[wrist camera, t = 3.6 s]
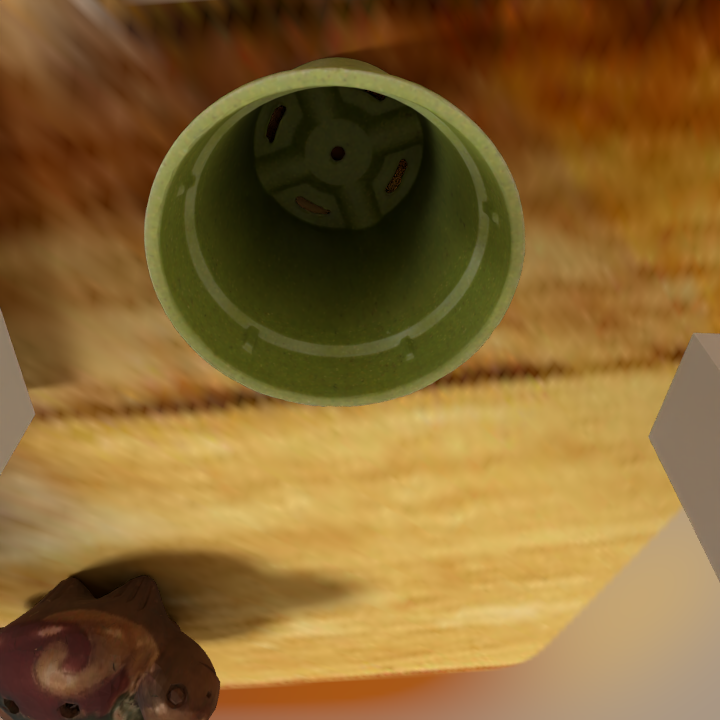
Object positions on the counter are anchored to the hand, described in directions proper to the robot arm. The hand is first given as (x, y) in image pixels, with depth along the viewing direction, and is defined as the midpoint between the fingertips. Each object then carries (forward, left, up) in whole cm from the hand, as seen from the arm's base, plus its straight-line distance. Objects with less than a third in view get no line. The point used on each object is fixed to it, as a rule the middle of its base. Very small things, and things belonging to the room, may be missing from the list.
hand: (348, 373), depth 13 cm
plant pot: (0, 0, -13) cm, 13 cm away
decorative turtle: (-29, +13, -13) cm, 34 cm away
